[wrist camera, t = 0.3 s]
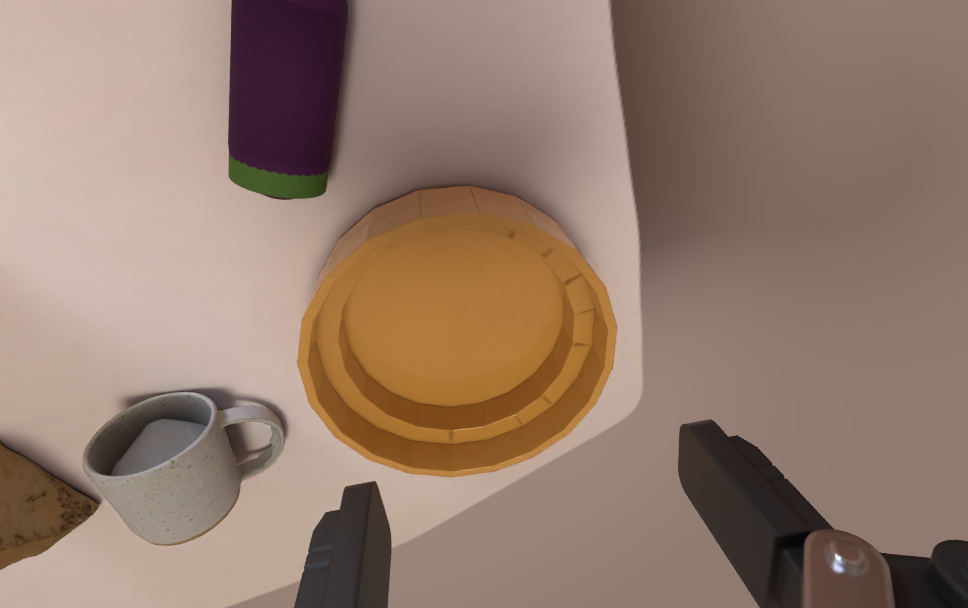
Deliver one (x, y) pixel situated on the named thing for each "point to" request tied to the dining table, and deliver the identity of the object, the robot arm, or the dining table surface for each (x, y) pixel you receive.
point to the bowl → (455, 334)
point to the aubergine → (284, 94)
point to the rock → (35, 508)
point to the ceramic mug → (175, 464)
